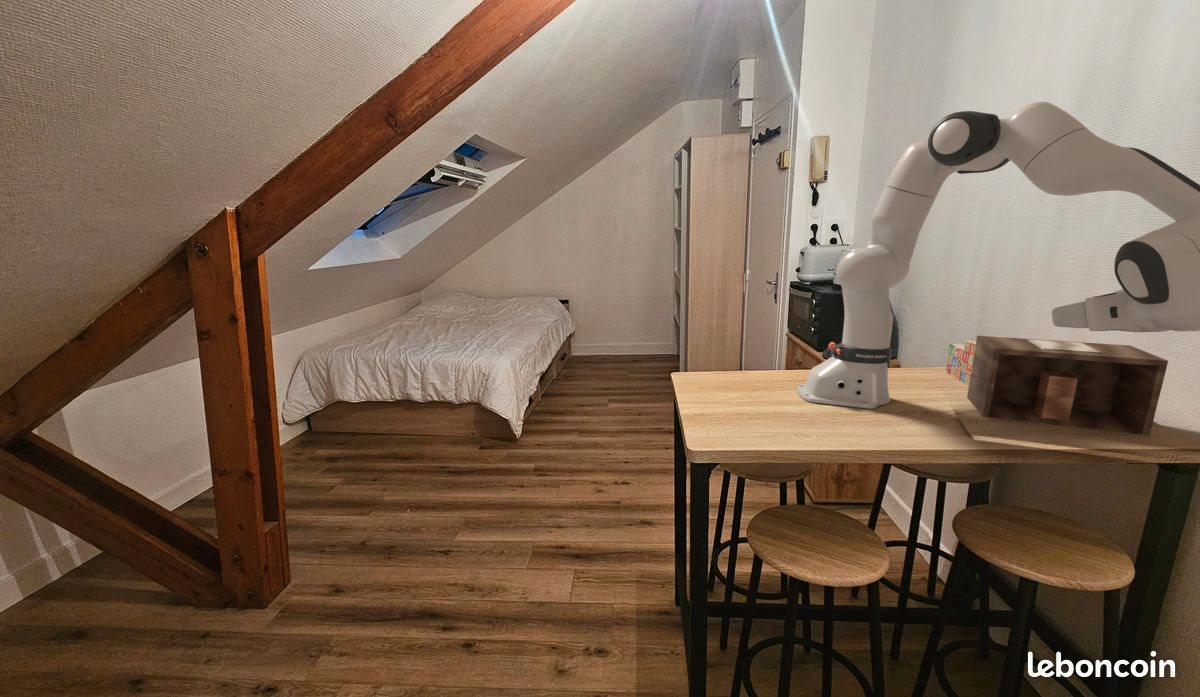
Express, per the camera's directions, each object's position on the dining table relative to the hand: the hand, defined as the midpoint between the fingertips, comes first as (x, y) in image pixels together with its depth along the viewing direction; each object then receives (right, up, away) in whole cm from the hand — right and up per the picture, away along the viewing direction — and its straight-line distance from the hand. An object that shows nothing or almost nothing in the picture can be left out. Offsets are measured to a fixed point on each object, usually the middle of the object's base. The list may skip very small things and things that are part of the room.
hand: (1087, 312), depth 110 cm
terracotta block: (+2, -23, +12) cm, 26 cm away
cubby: (+3, -24, +12) cm, 27 cm away
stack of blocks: (+5, -18, +41) cm, 45 cm away
